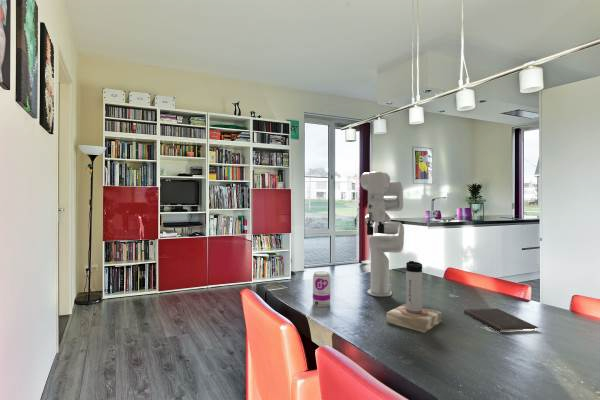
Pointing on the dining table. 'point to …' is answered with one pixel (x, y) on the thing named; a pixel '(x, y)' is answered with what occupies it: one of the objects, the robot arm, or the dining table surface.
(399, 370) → the dining table surface
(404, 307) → the cream panel copper ring
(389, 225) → the robot arm
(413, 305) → the travel mug
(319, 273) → the supplement can
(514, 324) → the hardcover book
